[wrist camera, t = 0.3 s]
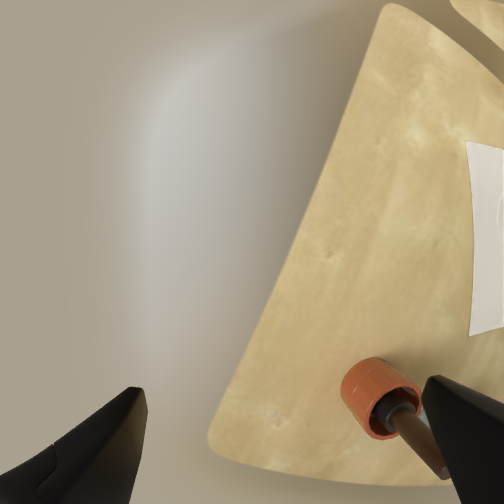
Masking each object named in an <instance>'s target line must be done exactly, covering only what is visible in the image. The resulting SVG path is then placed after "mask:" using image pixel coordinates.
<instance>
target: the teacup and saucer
mask: <svg viewBox="0 0 504 504" xmlns="http://www.w3.org/2000/svg"><path fill="white" fill-rule="evenodd" d="M496 229H497V235H498V239H499V242H500V244H501V247H502V249H503V250H504V191H503V192H502V193H501V195H500V197H499V200H498V203H497V208H496Z"/></svg>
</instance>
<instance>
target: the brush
mask: <svg viewBox="0 0 504 504" xmlns="http://www.w3.org/2000/svg"><path fill="white" fill-rule="evenodd" d="M371 412H372V413H373V414H374V415H375V416H376V417H377V419H378V420H379V421H380V422H381V423H382V424H383V425H384V427H385V428H386V429H387V430H388V431H390V432H397V433H398V434H399V435H400V436H401V437H402V438H403V439H404V440H405V441H406V443H407V444H408V445H409V446H410V447H411V448H412V449H413V450H414V451H415V452H416V453H417V454H418V455H419V457H420V458H421V459H422V460H423V461H424V462H425V463H426V464H427V465H428V466H429V467H430V468H431V469H432V471H433V472H434V473H435V474H436V475H437V476H438V477H439V478H440V479H441V480H447V479H449V478H451V476H450V474H449V472H448V469H447V467H446V465H445V462H444V460H443V458H442V455H441V453H440V451H439V449H438V446H437V444H436V442H435V440H434V437H433V435H432V432H431V429H430V427H429V426H427V425H426V424H425V423H424V422H423V421H422V420H421V419H420V418H419V417H417V416H416V415H415V407H414V406H413V405H412V404H411V403H410V402H409V401H408V400H407V399H405V398H404V397H403V396H402V395H401V394H400V393H398V392H397V391H396V390H395V389H393V390H391V391H389V392H387V393H386V394H385V395H383V396H382V397H381V398H380V399H379V400H378V401H377V402H376V404H375V406H374V407H373V409H372V411H371Z"/></svg>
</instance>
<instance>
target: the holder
mask: <svg viewBox="0 0 504 504" xmlns="http://www.w3.org/2000/svg"><path fill="white" fill-rule="evenodd" d="M393 389H395V390H396V391H397V392H398V393H400V394H401V395H402V396H403V397H404V398H405V399H407V400H408V401H409V402H410V403H411V404H412V405H413V406H414V407H415V415H416V416H417V417H418V415H419V414H420V412H421V408H422V402H421V395H422V391H421V390H420V388H419V387H418V386H417V385H416V384H415V383H414V382H412V381H411V380H410V379H408V378H407V377H406V376H404V375H403V374H402V373H400V372H399V371H397V370H396V369H394V368H393V367H392V366H390V365H389V364H388V363H386V362H385V361H383V360H381V359H367V360H364V361H362V362H360V363H358V364H356V365H355V366H354V367H353V368H351V370H350V371H349V372H348V373H347V374H346V376H345V378H344V380H343V382H342V386H341V397H342V400H343V402H344V403H345V404H346V406H347V407H348V408H349V410H350V411H351V412H352V414H353V416H354V417H355V418H356V420H357V421H358V422H359V424H360V425H361V426H362V428H363V429H364V430H365V432H366V433H367V434H368V435H369V436H371V437H372V438H373V439H379V440H386V439H391V438H394V437H396V436H398V435H399V434H398V433H397V432H390V431H388V430H387V429H386V428H385V427H384V425H383V424H382V423H381V422H380V421H379V420H378V419H377V417H376V416H375V415H374V414H373V413H372V412H371V411H372V409H373V407H374V406H375V404H376V402H377V401H378V400H379V399H380V398H381V397H382V396H383V395H385V394H386V393H387V392H389V391H391V390H393Z"/></svg>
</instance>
